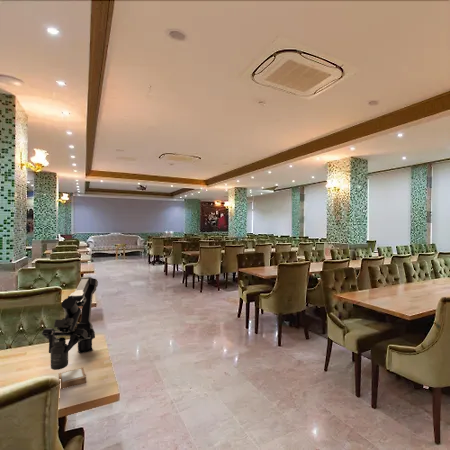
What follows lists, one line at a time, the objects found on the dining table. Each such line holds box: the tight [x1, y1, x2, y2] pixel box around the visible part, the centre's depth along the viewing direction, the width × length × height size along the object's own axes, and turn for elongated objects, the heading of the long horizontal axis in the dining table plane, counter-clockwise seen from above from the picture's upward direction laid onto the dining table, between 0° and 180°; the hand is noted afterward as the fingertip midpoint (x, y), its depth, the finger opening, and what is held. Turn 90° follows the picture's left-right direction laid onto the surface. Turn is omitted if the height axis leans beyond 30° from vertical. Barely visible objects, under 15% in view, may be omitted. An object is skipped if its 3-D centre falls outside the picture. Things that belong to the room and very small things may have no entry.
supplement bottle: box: [50, 337, 69, 371], centre depth 129 cm, size 7×7×12 cm
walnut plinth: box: [58, 367, 87, 390], centre depth 130 cm, size 10×10×3 cm
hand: (57, 352), depth 127 cm, fingers closed on supplement bottle, 7 cm apart
